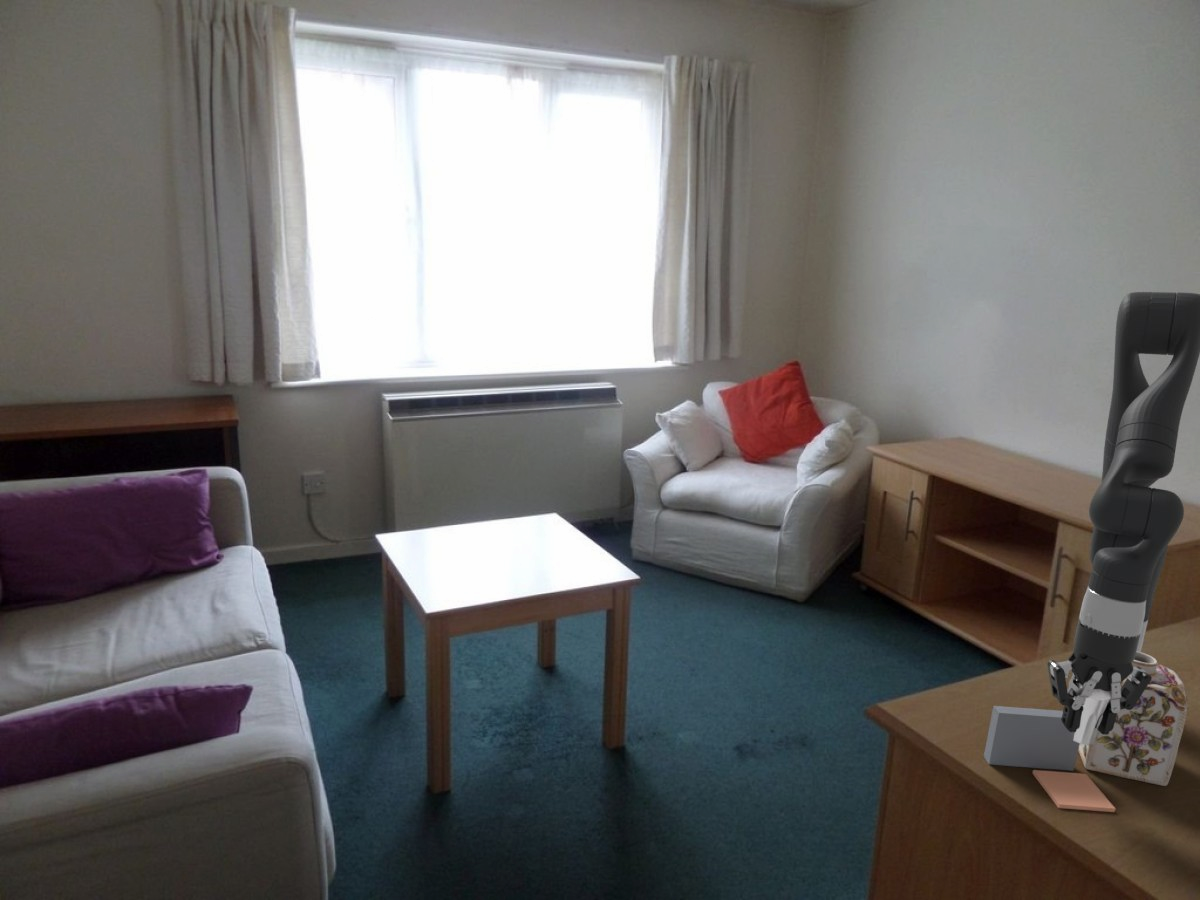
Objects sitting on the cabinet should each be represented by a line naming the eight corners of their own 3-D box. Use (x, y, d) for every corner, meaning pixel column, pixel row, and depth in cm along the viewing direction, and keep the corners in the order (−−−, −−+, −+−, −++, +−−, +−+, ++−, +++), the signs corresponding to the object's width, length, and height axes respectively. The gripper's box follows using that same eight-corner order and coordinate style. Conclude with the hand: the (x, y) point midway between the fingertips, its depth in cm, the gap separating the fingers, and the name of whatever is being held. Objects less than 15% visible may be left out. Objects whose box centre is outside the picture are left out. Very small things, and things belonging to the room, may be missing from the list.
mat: (1085, 777, 126) (1086, 773, 126) (1114, 812, 118) (1115, 808, 118) (1032, 773, 126) (1033, 769, 126) (1058, 807, 119) (1059, 804, 118)
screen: (1067, 762, 129) (1078, 712, 127) (1073, 770, 128) (1085, 719, 125) (983, 756, 130) (993, 705, 128) (988, 764, 128) (998, 712, 126)
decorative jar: (1082, 770, 128) (1106, 665, 124) (1067, 730, 139) (1088, 633, 134) (1171, 789, 124) (1199, 682, 120) (1148, 747, 135) (1173, 647, 131)
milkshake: (1109, 751, 118) (1126, 690, 115) (1069, 744, 119) (1085, 683, 116) (1097, 733, 122) (1113, 673, 120) (1059, 727, 123) (1074, 667, 121)
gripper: (1145, 614, 119) (1120, 720, 123) (1046, 607, 120) (1024, 712, 124) (1178, 638, 112) (1150, 749, 116) (1072, 630, 112) (1048, 741, 116)
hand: (1085, 729), depth 120 cm, fingers closed on milkshake, 4 cm apart
